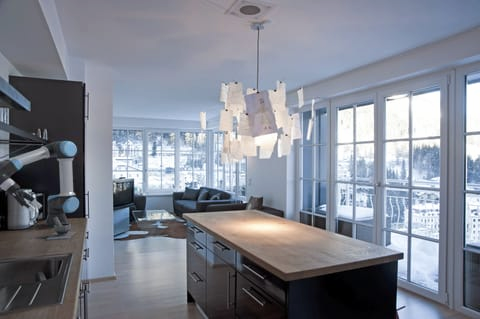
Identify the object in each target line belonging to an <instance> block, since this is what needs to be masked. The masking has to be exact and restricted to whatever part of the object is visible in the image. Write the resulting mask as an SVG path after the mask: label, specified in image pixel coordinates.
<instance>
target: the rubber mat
mask: <svg viewBox="0 0 480 319" xmlns="http://www.w3.org/2000/svg"><path fill="white" fill-rule="evenodd" d="M75 233H76V231H68V235H66V236H57V234H58V233H57V232H56V231H55V232H53V233H51V235H50V236H48V237H47V238H46V239H45V241H55V240H69V239H70V238H71V237H73V235H74V234H75Z"/></svg>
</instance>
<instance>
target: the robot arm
mask: <svg viewBox="0 0 480 319" xmlns="http://www.w3.org/2000/svg"><path fill="white" fill-rule="evenodd" d="M77 152H78V147H77V146H76V144H75V143H74V142H73V141H69V140H63V141H62V140H61V141H59V140H58V141H53V142H51V143H48V144H45V145H43V146H41V147H40V148H37V149H35V150H32V151H28V152H26V153H25V152H24V153H21V154H18V155H16V156H14V157H9V158H7V159H4V160H1V161H0V189H1V190H4V191H5V192H6V193H7V194H8V195H10V196H12V197H13V198H14V199H15V200H16V201H17V203H18V204H19V205H20V206H21V207H23V206H24V207H25V209H27V210H28V211H30V212H31V213H33V212H35V210H36V208H37V209H41V208H42V207H43V205H42V204H41V203H40V202H38V201H37V200H36V197H34V196H32V195H31V194H29V193H27V192H26V191H24V190H23V189H21V186H20V185H19V184H18V183H16V181H14V180H13V179H12V178H10V176H12V175H14V174H15V173H17V171H20V169H22V168H23V166H25V165H29V164H32V163H34V162H37V161H41V160H43V159H49V158H55V157H56V160H57V161H58V162H59V163H58V164H59V165H58V166H59V188H60V189H59V190H60V193H59V194H54V195H49V196H48V197H47V216H46V220H45V224H44V226H46V227H54V225H56V223H55V221H54V220H53V218H55V217H58V220H59V221H60V223H61V224H63V223H68V219H67V216H66V213H67V214H69V213H70V214H71V213H74V212H76V210H77V209H78V208H79V207H80V206H79V205H80V201H79V199H78V198H77V197H76V196H77V195H76V193H75V192H74V182H73V181H74V177H73V176H74V175H73V161H74V159H75V155H76V154H77ZM20 189H21V190H20ZM26 200H27V201H28V202H27V201H26ZM29 202H31V204H32V205H31V204H30V203H29ZM34 206H35V207H36V208H35V207H34Z"/></svg>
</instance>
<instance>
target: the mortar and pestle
mask: <svg viewBox="0 0 480 319" xmlns="http://www.w3.org/2000/svg"><path fill="white" fill-rule="evenodd" d="M53 220H54V221H55V223H56V225H54V226H53V229H54V231H55V232H57V233H58V234H57V236H66V235H68V232H70V231H71V228H72V227H71V226H72V223H68V222H67V223H63V224H61V223H60V221H59V220H58V217H55V218H53Z"/></svg>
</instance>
